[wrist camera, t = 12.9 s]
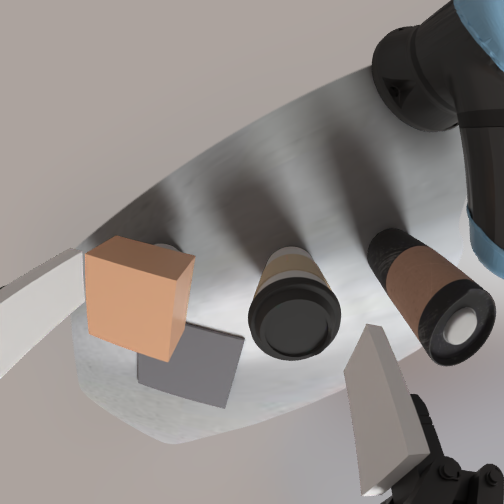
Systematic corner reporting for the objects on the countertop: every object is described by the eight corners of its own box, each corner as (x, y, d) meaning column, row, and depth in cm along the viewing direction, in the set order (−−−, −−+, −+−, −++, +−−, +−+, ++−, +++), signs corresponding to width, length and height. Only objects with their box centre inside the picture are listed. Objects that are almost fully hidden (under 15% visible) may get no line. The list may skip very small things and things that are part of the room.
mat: (244, 338, 44) (244, 340, 43) (225, 406, 49) (224, 408, 49) (140, 309, 44) (139, 311, 43) (139, 380, 49) (138, 382, 49)
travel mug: (382, 288, 39) (441, 381, 20) (354, 249, 38) (414, 333, 19) (422, 256, 37) (503, 329, 18) (397, 214, 36) (486, 271, 17)
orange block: (195, 255, 34) (176, 280, 27) (184, 329, 37) (168, 362, 31) (116, 235, 34) (85, 253, 27) (113, 307, 37) (88, 333, 31)
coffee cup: (245, 282, 41) (228, 348, 26) (277, 226, 38) (277, 270, 24) (301, 310, 41) (309, 382, 27) (336, 258, 38) (365, 316, 24)
